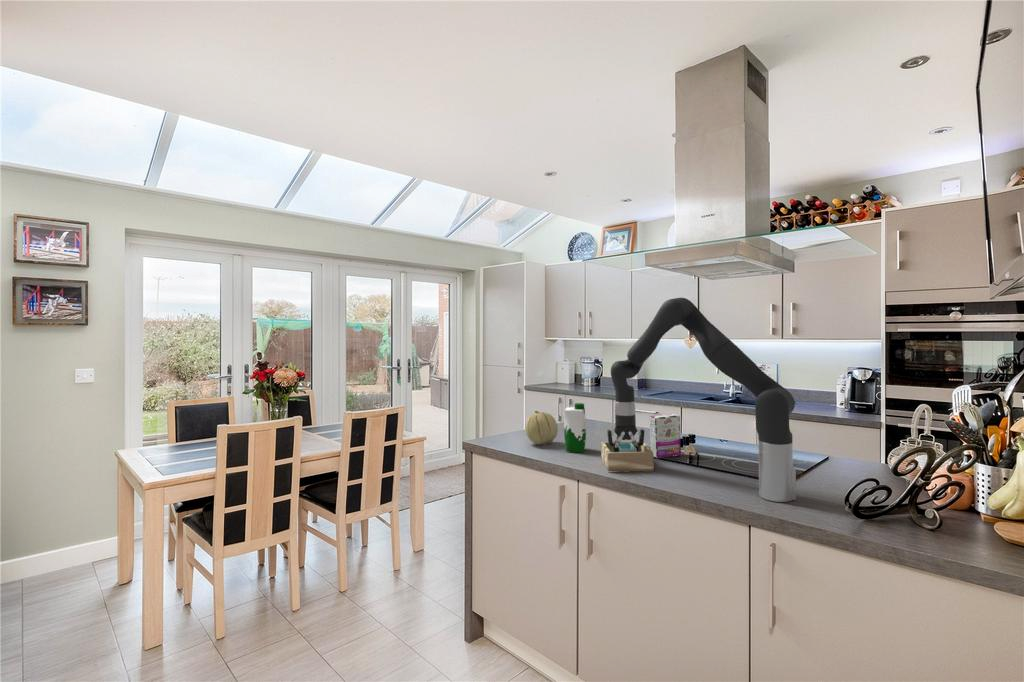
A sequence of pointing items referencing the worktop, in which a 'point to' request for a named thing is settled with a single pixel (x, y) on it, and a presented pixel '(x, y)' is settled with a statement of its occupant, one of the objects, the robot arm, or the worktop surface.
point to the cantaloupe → (541, 428)
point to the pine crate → (627, 458)
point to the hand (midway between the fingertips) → (626, 456)
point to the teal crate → (626, 447)
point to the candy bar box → (665, 435)
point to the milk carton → (575, 428)
